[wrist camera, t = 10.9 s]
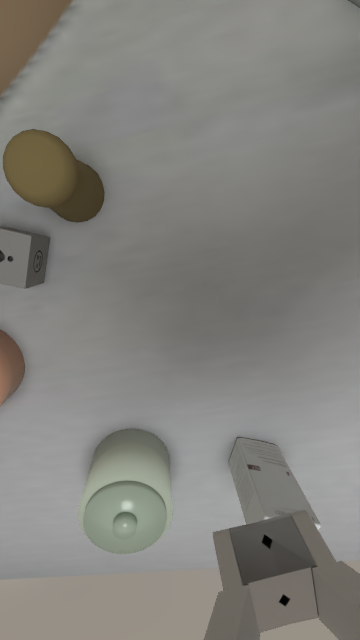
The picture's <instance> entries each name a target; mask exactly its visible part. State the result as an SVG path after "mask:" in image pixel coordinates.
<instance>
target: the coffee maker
mask: <svg viewBox="0 0 360 640" xmlns="http://www.w3.org/2000/svg"><path fill="white" fill-rule="evenodd" d="M349 1H350V2H352V3H354V4H355V5H357V6H358V7H360V0H349Z"/></svg>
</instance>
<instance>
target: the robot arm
mask: <svg viewBox="0 0 360 640" xmlns="http://www.w3.org/2000/svg"><path fill="white" fill-rule="evenodd" d="M229 532H230V533H229ZM213 539H214V544H215V550H216V555H217V560H218V565H219V570H220V575H221V580H222V586H223V591H221V592H219V593H218V596H217V599H216V602H215V606H214V609H213V612H212V615H211V618H210V621H209V625H208V628H207V631H206V634H205V637H204V640H260V633H261V632H264V631H267V630H271V629H274V628H277V627H281V626H284V625H288V624H292V623H296V622H301V621H305V620H310V619H314V618H319V619H320V620H321V622H322V623H323V624H324V625H325V626H326V627H327V628H328V629H329V630H330V631H331V632H332V633H333V634H334V635H335V636H336V637H337V638H338V639H339V640H360V574H359V573H358V572H356V571H355V570H354V569H352V568H351V567H349V566H348V565H347V564H345V563H344V562H342V561H338V562H336V560H335V559H334V557H333V555H332V553H331V552H330V550H329V548H328V546H327V545H326V543H325V541H324V539H323V538H322V536H321V534H320V532H319V531H318V529H317V527H316V526H315V524H314V522H313V520H312V519H311V517H310V515H309V513H308V512H307V511H306V510H301V511H297V512H293V513H290V514H284V515H280V516H276V517H273V518H269V519H265V520H261V521H259V522H256V523H252V524H247V525H242V526H238V527H233V528H229V530H228V529H225V530H220V531H216V532H213Z"/></svg>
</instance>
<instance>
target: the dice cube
mask: <svg viewBox="0 0 360 640" xmlns="http://www.w3.org/2000/svg"><path fill="white" fill-rule="evenodd" d="M49 241H50V237H46V236H42V235H38V234H33V233H29V232H25V231H21V230H16V229H12V228H8V227H3V226H0V284H5V285H10V286H15V287H19V288H24V289H26V288H29V287H32V286H35V285H38V284H41V283H44V278H45V271H46V263H47V256H48V249H49Z"/></svg>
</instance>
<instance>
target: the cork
mask: <svg viewBox="0 0 360 640" xmlns="http://www.w3.org/2000/svg"><path fill="white" fill-rule="evenodd" d="M3 169H4V172H5V176H6V179H7V181H8V182H9V184H10V185H11V187H12V188H13V190H14V191H15V192H16V193H17V194H18V195H19V196H20V197H21V198H23V199H24V200H25V201H27V202H29V203H32V204H34V205H36V206H41V207H49V208H51V209H52V210H53V211H54V212H55V213H56V214H58V215H59V216H60V217H61V218H64V219H66V220H68V221H72V222H83V221H88V220H89V219H91V218H93V217H94V216H95V215H96V214H97V213H98V212H99V211H100V209H101V207H102V204H103V202H104V188H103V184H102V181H101V179H100V178H99V176H98V174H97V173H96V172H95V171H94V170H93V169H92V168H91V167H90V166H88V165H86V164H84V163H82V162H80V161H78V160H76V158H75V157H74V155H73V153H72V152H71V150H70V148H69V147H68V146H67V145H66V144H65V143H64V142H63V141H62V140H61V139H60V138H59V137H57V136H55V135H53V134H51V133H49V132H46V131H41V130H35V129H32V130H26V131H22V132H20V133H19V134H17V135H15V136H14V137H13V138H12V139H11V140H10V142H9V143H8V144H7V146H6V149H5V152H4V155H3Z"/></svg>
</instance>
